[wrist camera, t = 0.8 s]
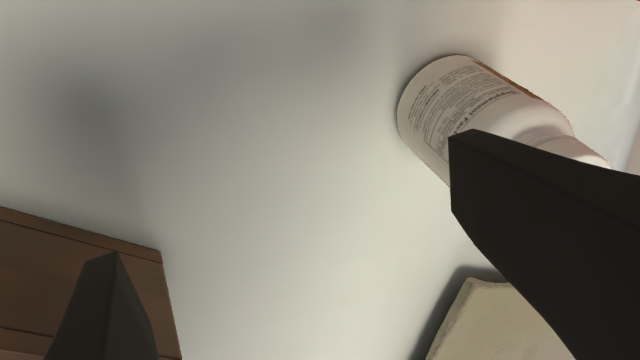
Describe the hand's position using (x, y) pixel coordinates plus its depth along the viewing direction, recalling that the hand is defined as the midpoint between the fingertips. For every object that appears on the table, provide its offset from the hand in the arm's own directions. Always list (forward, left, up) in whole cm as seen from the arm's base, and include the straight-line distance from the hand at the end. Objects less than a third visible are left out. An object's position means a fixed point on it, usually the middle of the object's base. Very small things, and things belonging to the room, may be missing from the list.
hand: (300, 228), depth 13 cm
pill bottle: (+3, -9, -10) cm, 14 cm away
